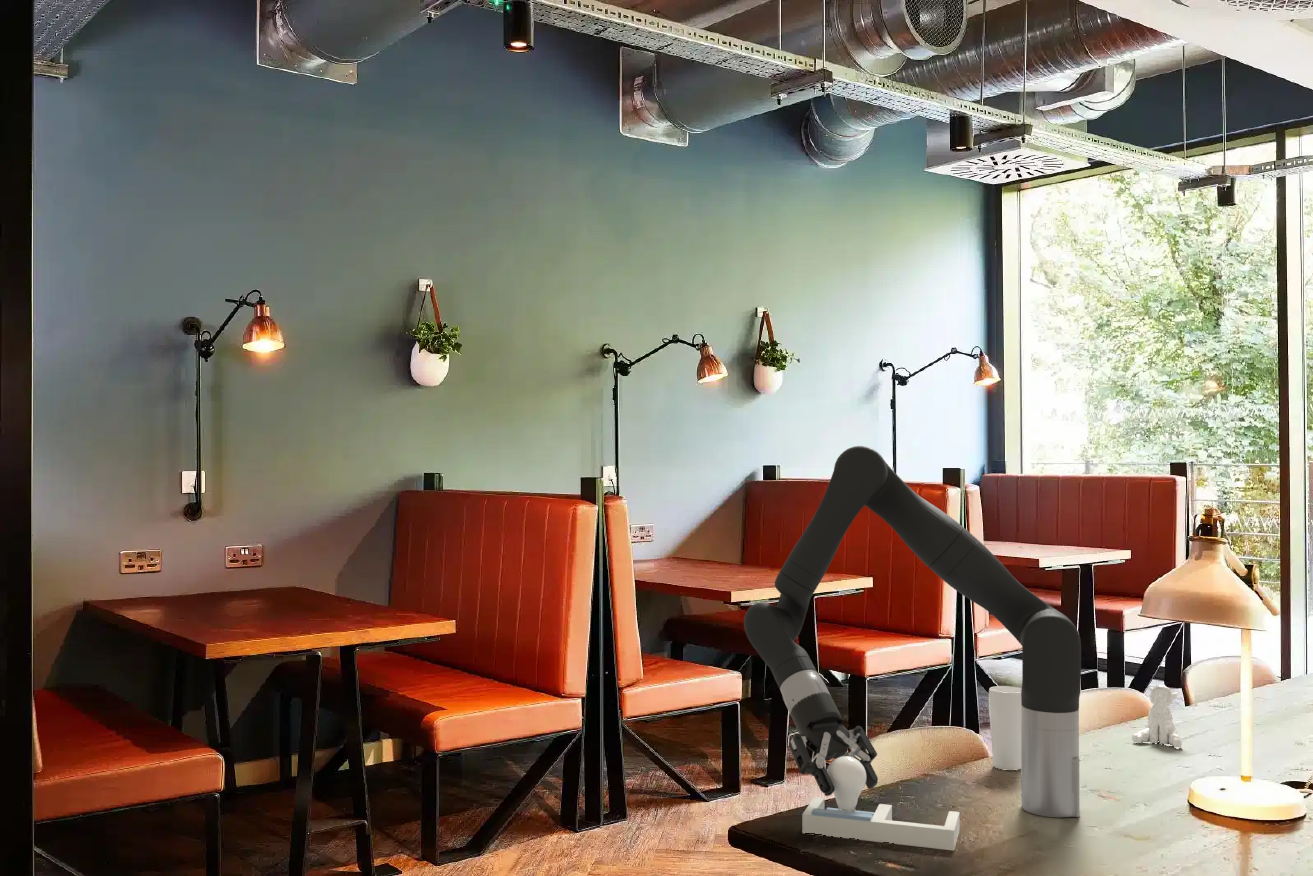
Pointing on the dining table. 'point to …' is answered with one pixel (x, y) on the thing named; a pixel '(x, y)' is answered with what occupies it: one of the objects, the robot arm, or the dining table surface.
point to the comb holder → (879, 826)
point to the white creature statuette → (1160, 719)
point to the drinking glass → (1005, 726)
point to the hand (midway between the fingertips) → (852, 789)
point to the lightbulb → (847, 781)
